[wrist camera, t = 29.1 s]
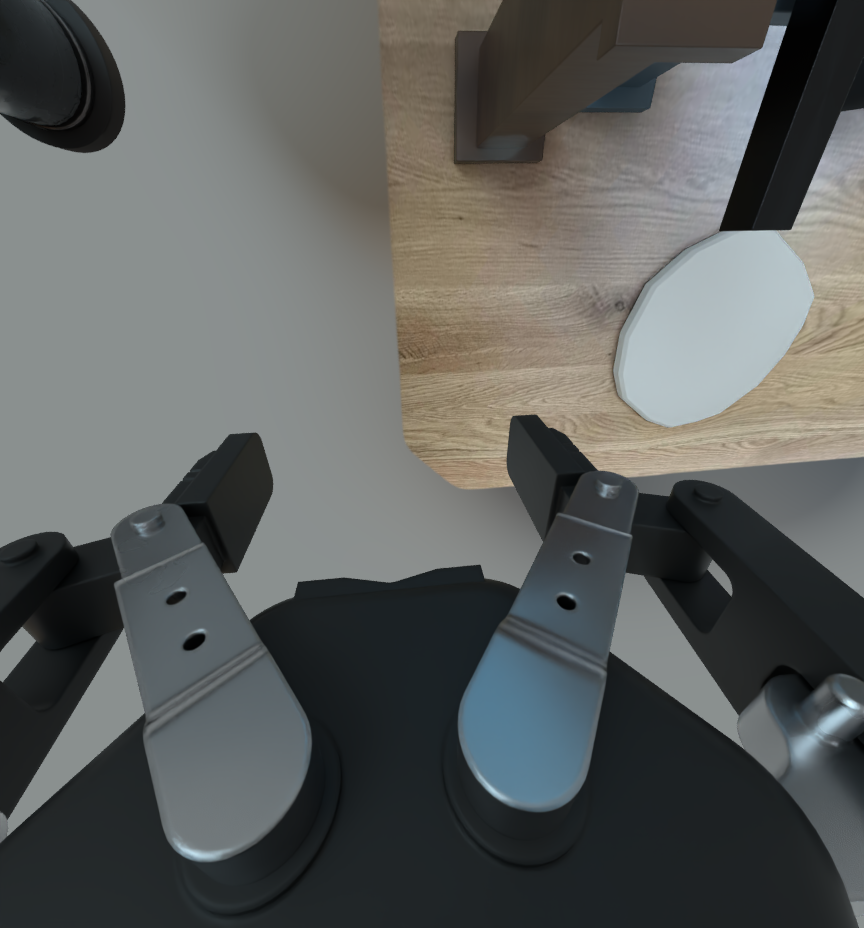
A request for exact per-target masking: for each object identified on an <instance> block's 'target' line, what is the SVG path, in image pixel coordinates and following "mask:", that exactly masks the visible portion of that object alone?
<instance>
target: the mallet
mask: <svg viewBox="0 0 864 928" xmlns="http://www.w3.org/2000/svg"><path fill="white" fill-rule="evenodd" d="M863 57H864V0H796V1H795V4H794V7H793V10H792V13H791V16H790V19H789V22H788V25H787V28H786V31H785V34H784V37H783V40H782V43H781V46H780V49H779V52H778V55H777V58H776V61H775V64H774V67H773V70H772V73H771V76H770V79H769V82H768V85H767V88H766V91H765V94H764V97H763V100H762V103H761V106H760V109H759V112H758V115H757V118H756V121H755V124H754V127H753V130H752V133H751V136H750V139H749V142H748V145H747V148H746V151H745V154H744V157H743V160H742V163H741V166H740V169H739V172H738V175H737V178H736V181H735V184H734V187H733V190H732V193H731V196H730V199H729V202H728V205H727V208H726V211H725V214H724V217H723V220H722V223H721V226H720V229H719V231H768V230H791V229H792V226H793V224H794V221H795V219H796V217H797V214H798V212H799V209H800V207H801V205H802V202H803V200H804V198H805V195H806V193H807V190H808V188H809V186H810V183H811V181H812V178H813V176H814V174H815V171H816V169H817V167H818V164H819V162H820V159H821V157H822V155H823V152H824V150H825V147H826V145H827V143H828V140H829V138H830V136H831V133H832V131H833V128H834V126H835V124H836V121H837V119H838V117H839V114H840V112H841V109H842V107H843V105H844V102H845V100H846V97H847V95H848V93H849V90H850V88H851V86H852V83H853V81H854V78H855V76H856V74H857V71H858V69H859V66H860V64H861V62H862V59H863Z"/></svg>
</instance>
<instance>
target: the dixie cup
mask: <svg viewBox="0 0 864 928" xmlns="http://www.w3.org/2000/svg"><path fill="white" fill-rule="evenodd" d="M861 108H864V57H863V59H862V62H861V64H860V66H859V69H858V71H857V74H856V76H855V78H854V81H853V83H852V86H851V88H850V90H849V93H848V95H847V97H846V100H845V102H844V105H843V107H842V109H841V111H847V110H854V109H861Z"/></svg>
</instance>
